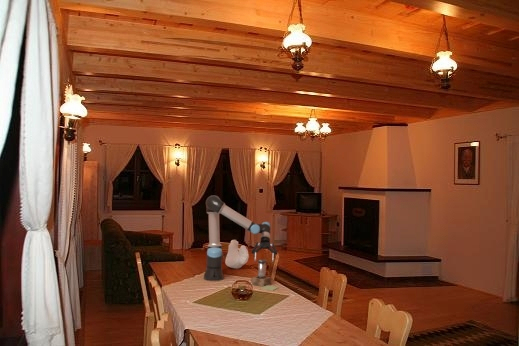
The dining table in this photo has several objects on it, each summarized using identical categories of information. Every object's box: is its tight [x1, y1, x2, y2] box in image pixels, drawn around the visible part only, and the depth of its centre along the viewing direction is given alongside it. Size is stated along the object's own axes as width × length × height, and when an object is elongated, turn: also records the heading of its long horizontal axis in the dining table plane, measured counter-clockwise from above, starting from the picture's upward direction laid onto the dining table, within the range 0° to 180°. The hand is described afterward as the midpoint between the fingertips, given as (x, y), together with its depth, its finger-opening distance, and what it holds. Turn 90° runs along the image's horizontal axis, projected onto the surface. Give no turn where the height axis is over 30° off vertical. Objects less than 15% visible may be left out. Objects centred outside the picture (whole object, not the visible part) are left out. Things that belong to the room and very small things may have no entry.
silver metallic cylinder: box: [256, 259, 267, 279], centre depth 305 cm, size 7×7×18 cm
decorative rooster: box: [224, 239, 250, 270], centre depth 365 cm, size 25×16×25 cm, turn 35°
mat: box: [260, 285, 280, 291], centre depth 293 cm, size 10×10×1 cm
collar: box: [250, 275, 272, 287], centre depth 305 cm, size 11×11×5 cm
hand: (263, 260), depth 314 cm, fingers open, 13 cm apart
